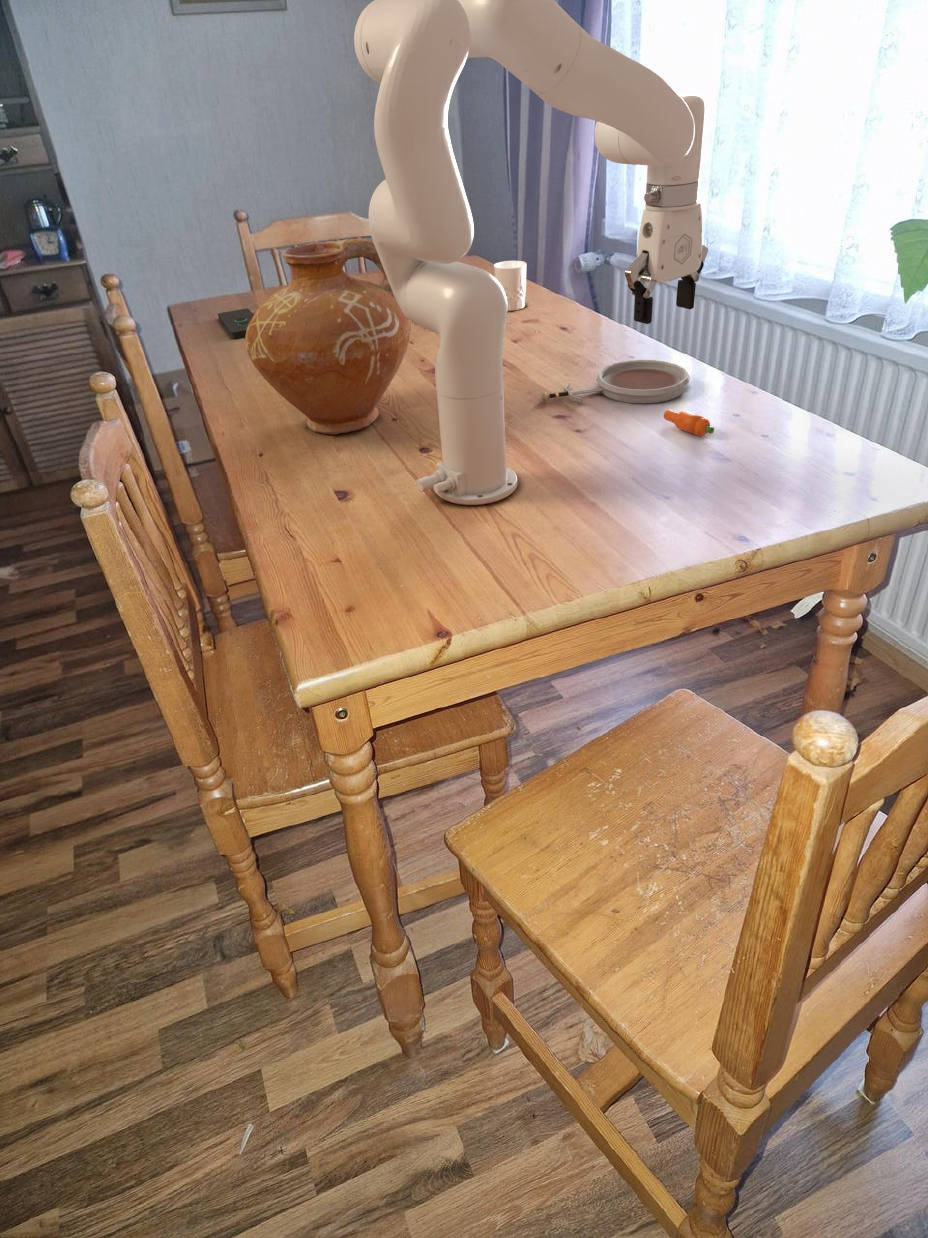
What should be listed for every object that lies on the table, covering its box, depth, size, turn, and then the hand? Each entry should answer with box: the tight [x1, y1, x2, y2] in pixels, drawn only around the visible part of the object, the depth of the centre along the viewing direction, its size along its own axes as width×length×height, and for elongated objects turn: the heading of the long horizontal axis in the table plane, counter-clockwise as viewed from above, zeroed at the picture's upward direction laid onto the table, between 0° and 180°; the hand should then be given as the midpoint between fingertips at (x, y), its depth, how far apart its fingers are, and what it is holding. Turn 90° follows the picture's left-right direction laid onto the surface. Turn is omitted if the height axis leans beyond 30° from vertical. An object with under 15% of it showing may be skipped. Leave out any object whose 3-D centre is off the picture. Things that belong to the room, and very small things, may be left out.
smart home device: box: [217, 307, 254, 340], centre depth 203 cm, size 8×2×20 cm
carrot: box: [663, 409, 715, 437], centre depth 134 cm, size 10×3×3 cm, turn 36°
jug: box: [244, 238, 411, 435], centre depth 139 cm, size 28×28×30 cm
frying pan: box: [541, 359, 691, 404], centre depth 150 cm, size 17×3×28 cm
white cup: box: [493, 260, 527, 312], centre depth 198 cm, size 8×8×10 cm
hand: (664, 314), depth 129 cm, fingers open, 9 cm apart
